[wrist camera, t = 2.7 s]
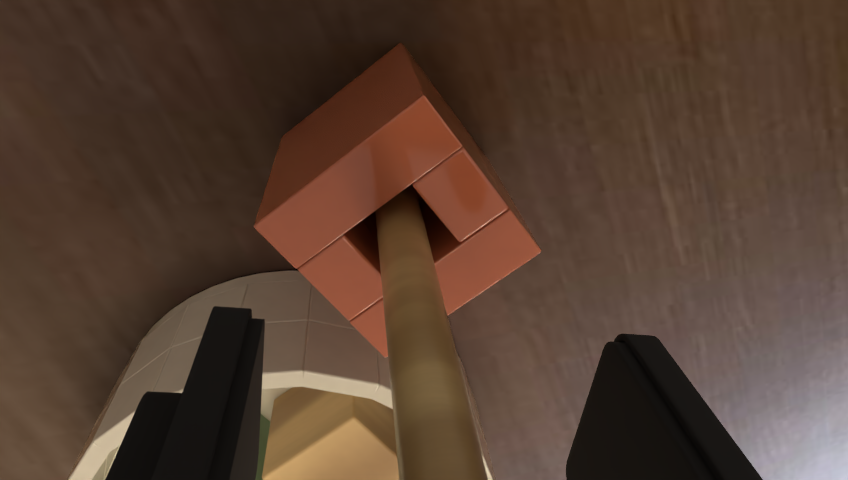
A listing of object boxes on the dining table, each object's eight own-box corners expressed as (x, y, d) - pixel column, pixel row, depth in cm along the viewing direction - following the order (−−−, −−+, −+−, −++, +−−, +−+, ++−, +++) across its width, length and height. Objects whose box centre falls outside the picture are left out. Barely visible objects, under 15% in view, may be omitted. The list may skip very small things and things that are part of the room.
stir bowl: (39, 409, 25) (-46, 542, 20) (319, 196, 22) (310, 283, 17) (287, 581, 31) (274, 720, 25) (533, 429, 28) (576, 549, 23)
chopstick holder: (281, 136, 21) (252, 226, 15) (401, 41, 20) (424, 94, 14) (375, 241, 23) (385, 359, 17) (488, 159, 22) (542, 252, 16)
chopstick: (362, 145, 22) (399, 797, 6) (390, 124, 21) (515, 738, 5) (384, 172, 22) (477, 840, 6) (412, 151, 22) (585, 787, 6)
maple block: (273, 399, 25) (260, 479, 21) (353, 343, 24) (353, 417, 21) (339, 456, 26) (338, 539, 23) (416, 406, 26) (427, 483, 22)
